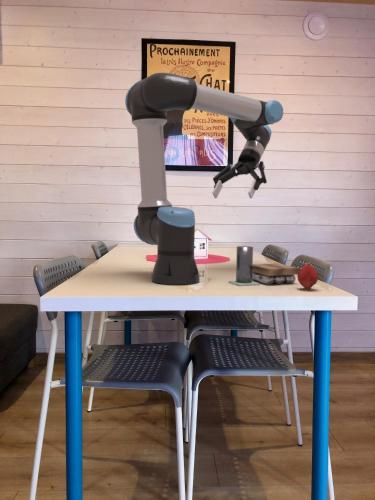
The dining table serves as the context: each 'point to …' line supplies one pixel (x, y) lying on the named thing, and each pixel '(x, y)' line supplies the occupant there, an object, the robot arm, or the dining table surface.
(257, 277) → the roller track
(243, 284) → the stop pad
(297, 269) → the slab
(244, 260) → the steel roller
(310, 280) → the red strawberry
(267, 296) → the dining table surface
